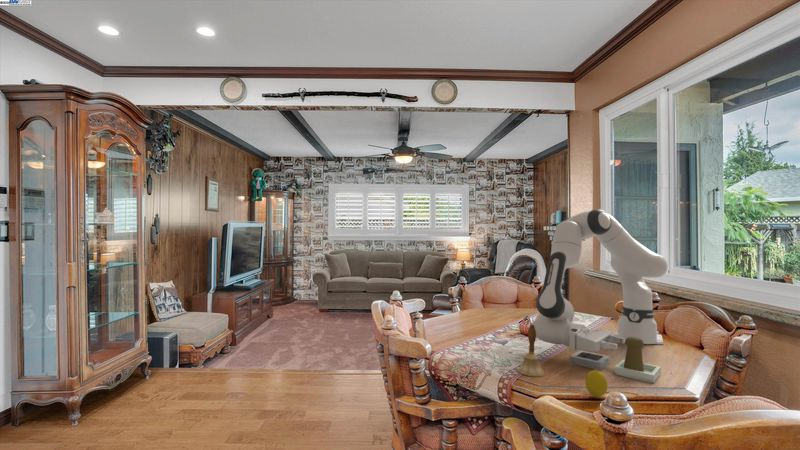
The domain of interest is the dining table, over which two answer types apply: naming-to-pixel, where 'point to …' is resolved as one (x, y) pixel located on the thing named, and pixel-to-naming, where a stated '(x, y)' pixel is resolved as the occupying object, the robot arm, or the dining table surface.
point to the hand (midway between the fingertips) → (620, 343)
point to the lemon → (596, 383)
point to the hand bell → (531, 357)
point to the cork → (634, 354)
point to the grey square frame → (590, 360)
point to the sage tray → (639, 372)
